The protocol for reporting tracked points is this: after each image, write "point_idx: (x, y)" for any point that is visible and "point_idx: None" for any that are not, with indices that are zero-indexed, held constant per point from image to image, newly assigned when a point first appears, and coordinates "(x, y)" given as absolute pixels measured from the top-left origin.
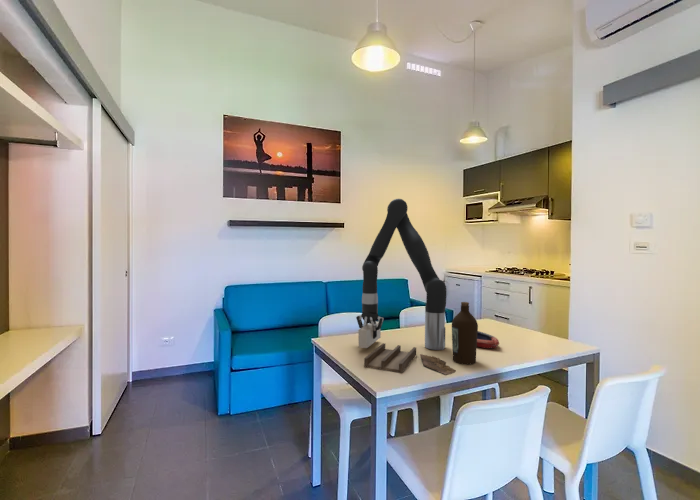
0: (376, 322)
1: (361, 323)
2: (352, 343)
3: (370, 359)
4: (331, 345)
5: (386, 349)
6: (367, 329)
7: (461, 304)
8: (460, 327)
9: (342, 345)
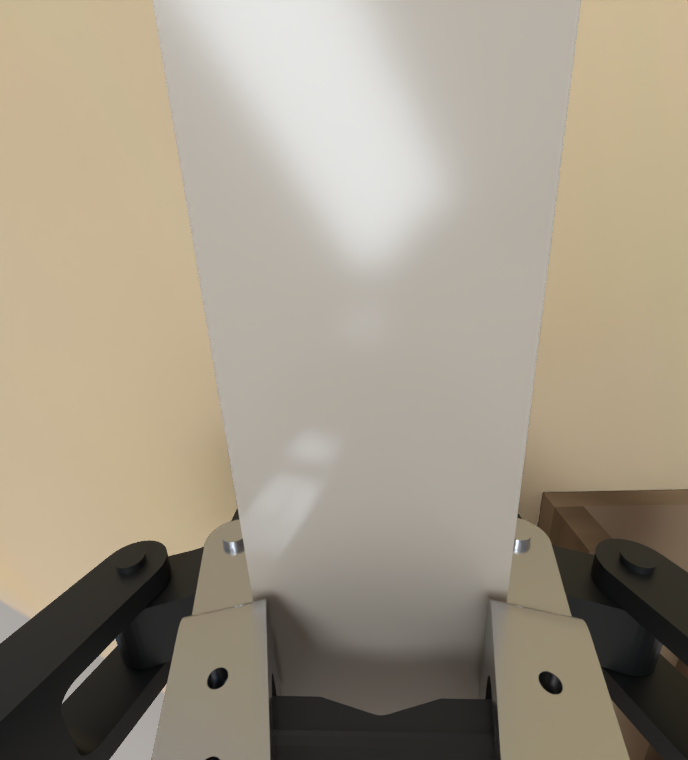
0: (428, 124)
1: (79, 653)
2: (137, 392)
3: None
4: (17, 541)
5: (598, 515)
6: None
7: None
8: None
9: (100, 500)
